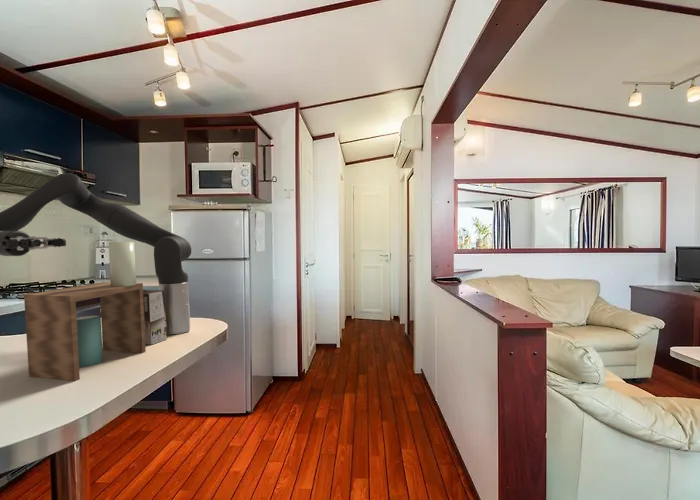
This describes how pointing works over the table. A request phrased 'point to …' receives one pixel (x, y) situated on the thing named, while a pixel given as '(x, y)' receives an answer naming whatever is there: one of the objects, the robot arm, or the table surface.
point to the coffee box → (154, 316)
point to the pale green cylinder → (122, 264)
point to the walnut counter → (61, 326)
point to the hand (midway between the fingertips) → (49, 243)
